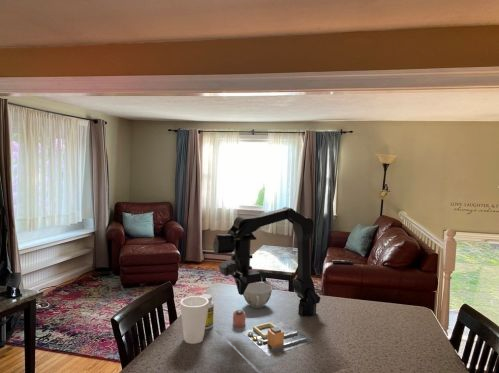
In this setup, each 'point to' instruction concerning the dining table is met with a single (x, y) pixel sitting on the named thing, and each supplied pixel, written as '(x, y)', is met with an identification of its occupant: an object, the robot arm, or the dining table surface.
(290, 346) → the panel
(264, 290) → the teacup
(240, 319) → the salmon cylinder
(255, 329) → the socket
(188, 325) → the foam cup
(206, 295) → the pill bottle
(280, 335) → the toggle
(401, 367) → the dining table surface
